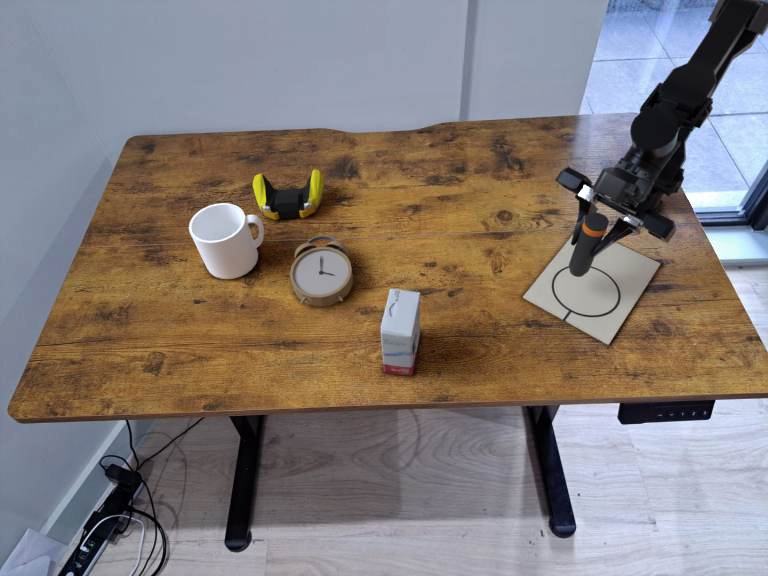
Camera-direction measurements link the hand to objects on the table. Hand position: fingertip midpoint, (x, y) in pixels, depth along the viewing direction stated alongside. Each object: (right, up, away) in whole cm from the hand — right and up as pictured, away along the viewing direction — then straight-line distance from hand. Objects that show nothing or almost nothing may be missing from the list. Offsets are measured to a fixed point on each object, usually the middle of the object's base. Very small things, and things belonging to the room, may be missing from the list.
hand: (581, 250), depth 81 cm
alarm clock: (-43, -4, +14) cm, 46 cm away
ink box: (-29, -17, +4) cm, 33 cm away
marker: (+1, -3, +6) cm, 7 cm away
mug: (-60, 0, +18) cm, 62 cm away
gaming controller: (-51, +12, +27) cm, 59 cm away
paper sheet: (+6, -5, +11) cm, 13 cm away
